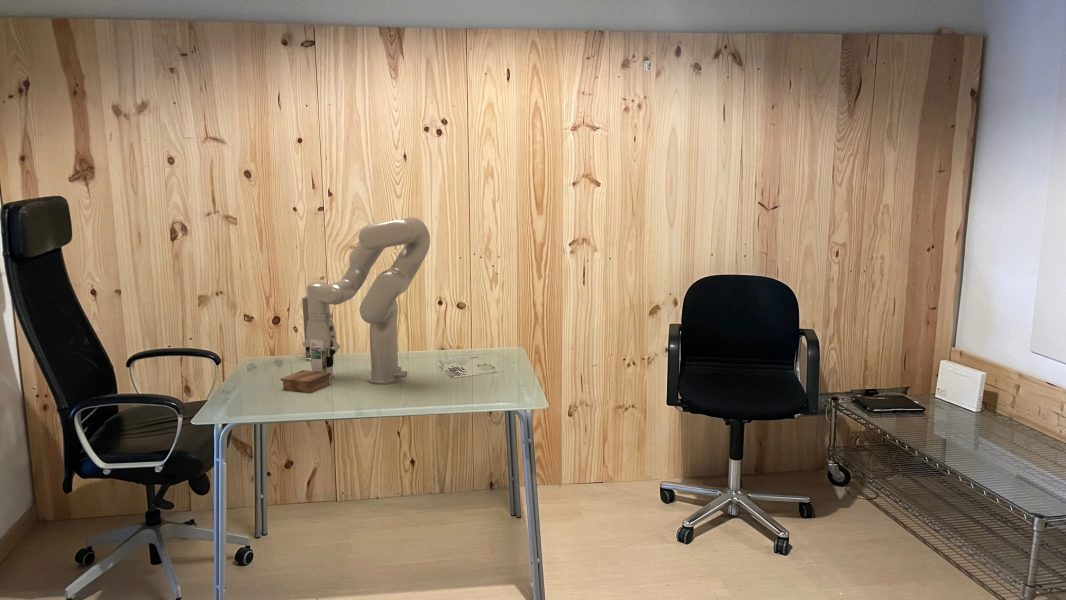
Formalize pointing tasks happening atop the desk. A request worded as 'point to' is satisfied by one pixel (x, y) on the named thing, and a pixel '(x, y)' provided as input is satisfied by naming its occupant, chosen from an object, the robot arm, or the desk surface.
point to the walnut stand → (306, 381)
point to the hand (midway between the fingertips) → (322, 365)
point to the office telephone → (453, 370)
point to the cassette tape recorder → (305, 319)
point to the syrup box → (319, 357)
